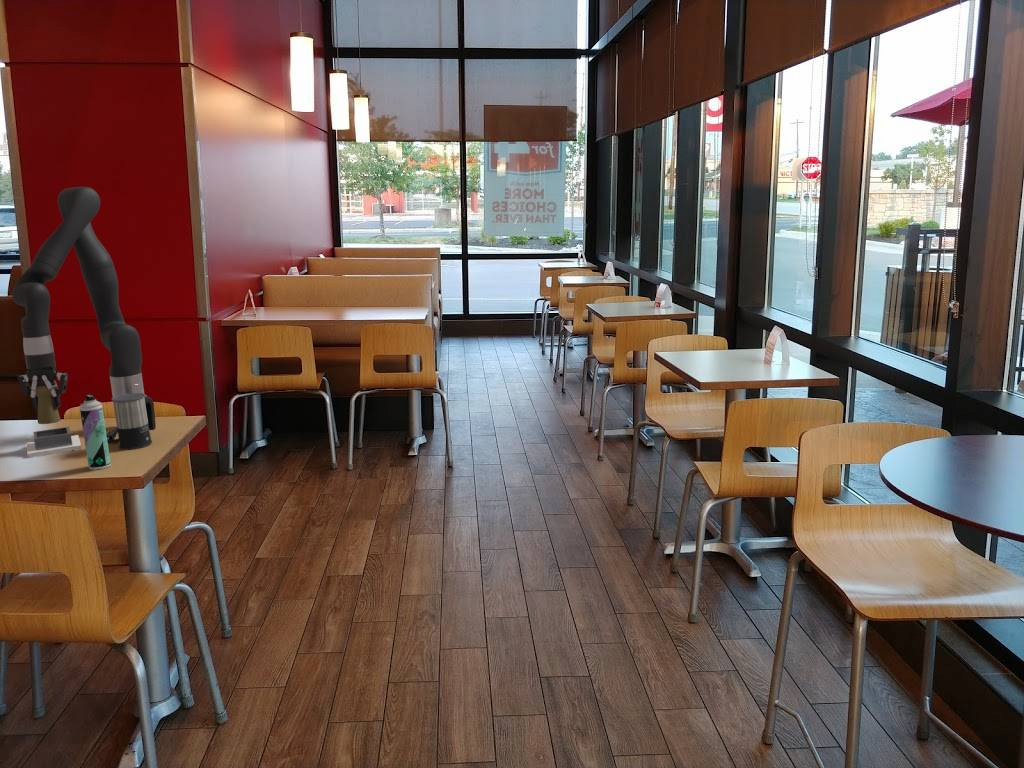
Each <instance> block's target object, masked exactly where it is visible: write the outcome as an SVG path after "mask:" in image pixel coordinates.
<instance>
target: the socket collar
mask: <svg viewBox="0 0 1024 768" xmlns="http://www.w3.org/2000/svg"><path fill="white" fill-rule="evenodd" d="M32 435H33V442H34V443H35V449H36V451H37V450H43V449H50V448H56V447H63V446H69V445H72V439H71V436H72V434H71V430H70V426H65V427H58V428H57V427H56V428H50V429H43V430H37V431H33V434H32Z"/></svg>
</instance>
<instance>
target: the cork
mask: <svg viewBox="0 0 1024 768" xmlns="http://www.w3.org/2000/svg"><path fill="white" fill-rule="evenodd" d="M52 386H53V385H52ZM35 394H36V395H37V396H38V410H37V424H38V425H39V424H40V425H49V424H55V423H58V422H61V417H60V413H59V410H58V409H59V408H58V409H54V407H53V400H52V397H53V396H52V394H51V390H49V389H48V388H47V386H38V387H36V390H35Z"/></svg>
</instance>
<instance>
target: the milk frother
mask: <svg viewBox="0 0 1024 768" xmlns="http://www.w3.org/2000/svg"><path fill="white" fill-rule="evenodd" d="M145 395H146V394H145V393H144V394H142V393H131V394H124V395H120V396H116V397H114V398H113V397H112V398H111V401H112V403H113V409H114V416H115V423H117V424H116V428H114V429H112V430H110V431H107V432H106V436H107V442H108V444H118V448H119V449H121V450H135V449H141V448H145V447H148V446H150V445H151V444H153V440H152V437H151V432H150V431H155V430H156V427H157V426H156V413H155V403H154V401H153V399H152V398H151V397H150V396H145ZM117 436H118V438H116V437H117Z"/></svg>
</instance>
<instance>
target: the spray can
mask: <svg viewBox="0 0 1024 768" xmlns="http://www.w3.org/2000/svg"><path fill="white" fill-rule="evenodd" d="M79 412H80V418H81V424H82V433H83V439H84V444H85V453H86V458H87V463H88V465H87V466H88V469H89V470H90V469H91V470H90V471H98V470H97V469H101V470H105V469H107V467H108V468H110V467H111V465H112V463H111V456H110V449H109V443H108V442H107V436H106V433H107V430H106V422H105V416H104V409H103V405H102V402H101V401H98V400H97V399H96V398H95V397H94V395H92V394H86V395H85V400H84V401H83V403H81V404H80V405H79ZM109 466H110V467H109ZM104 468H105V469H104Z"/></svg>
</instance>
